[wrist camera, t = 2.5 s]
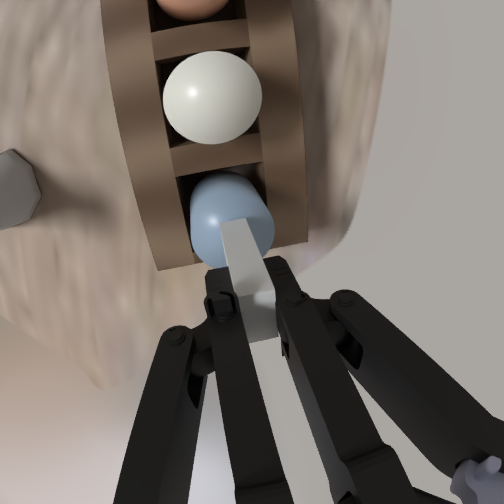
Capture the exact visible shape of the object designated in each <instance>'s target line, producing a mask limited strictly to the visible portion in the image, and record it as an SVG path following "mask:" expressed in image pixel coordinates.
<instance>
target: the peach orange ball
mask: <svg viewBox="0 0 504 504" xmlns="http://www.w3.org/2000/svg"><path fill="white" fill-rule="evenodd" d="M228 1H229V0H157V3H158V5H159V7H160V8H161V9H162V10H163V11H164V12H165V13H166V14H168V15H169V16H171V17H173V18H176V19H179V20H185V21H196V20H202V19H205V18H208V17H211V16H213V15H215V14H216V13H218V12H219V11H221V10H222V9H223V8H224V7H225V6H226V4H227V3H228Z"/></svg>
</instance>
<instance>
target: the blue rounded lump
mask: <svg viewBox="0 0 504 504" xmlns="http://www.w3.org/2000/svg"><path fill="white" fill-rule="evenodd" d="M242 218H246V220H247V223H248V225H249V228H250V230H251V233H252V235H253V237H254V240H255V242H256V245H257V247H258V249H259V252H260V254H261V257H262V258H263V257H264V255H265V254H266V253H267V252H268V250H269V249H270V247H271V245H272V243H273V239H274V235H275V226H274V221H273V218H272V216H271V214H270V212H269V210H268V209H267V207H266V206H265V204H264V202H263V201H262V199H261V197H260V196H259V194H258V192H257V191H256V189H255V187H254V186H253V184H252V183H251V182H250V181H249V180H248V179H247V178H246V177H244V176H243V175H241V174H239V173H236V172H232V171H219V172H215V173H212V174H210V175H208V176H206V177H205V178H203V179H202V180H201V181H200V182H199V183H198V184H197V185H196V187H195V188H194V190H193V192H192V195H191V199H190V223H191V242H192V246H193V249H194V251H195V253H196V254H197V255H198V257H199V258H200V259H201V260H202V261H203V262H205V263H206V264H208V265H209V266H211V267H213V268H216V269H217V268H222V267H227V263H226V258H225V252H224V247H223V242H222V236H221V230H220V225H219V223H220V222H226V221H231V220H236V219H242Z"/></svg>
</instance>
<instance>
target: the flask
mask: <svg viewBox="0 0 504 504" xmlns="http://www.w3.org/2000/svg"><path fill="white" fill-rule="evenodd" d="M40 198H41V193H40V190H39V187H38V185H37V182H36V179H35V176H34V173H33V170H32V166H31V165H30V164H28V163H27V162H26V161H25V160H23V159H22V158H21V157H20V156H18V155H17V154H16V153H15V152H14V151H12V150H11V149H9V150H7V151H5V152H3V153H1V154H0V230H4V229H7V228H10V227H13V226H15V225H18V224H20V223H23V222H26V221H28V220H30V218H31V216H32V214H33V212H34V210H35V208H36V206H37V204H38V202H39V200H40Z"/></svg>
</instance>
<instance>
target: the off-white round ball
mask: <svg viewBox="0 0 504 504" xmlns="http://www.w3.org/2000/svg"><path fill="white" fill-rule="evenodd" d="M261 103H262V90H261V85H260V82H259V79H258V77H257V75H256V73H255V72H254V70H253V69H252V68H251V67H250V66H249V64H247V63H246V62H245V61H244V60H242V59H241V58H239V57H237V56H235V55H233V54H230V53H227V52H221V51H207V52H202V53H198V54H196V55H193V56H191V57H189V58H187V59H186V60H184V61H183V62H181V63H180V64H179V65H178V66H177V67H176V68H175V69H174V70H173V72H172V73H171V75H170V76H169V78H168V80H167V82H166V85H165V88H164V93H163V106H164V110H165V114H166V116H167V119H168V120H169V122H170V124H171V125H172V126H173V128H174V129H175V130H176V131H177V132H178V133H179V134H181V135H182V136H184V137H185V138H187V139H189V140H191V141H194V142H197V143H202V144H220V143H224V142H228V141H230V140H233V139H235V138H237V137H238V136H240V135H241V134H243V133H244V132H245V131H246V130H247V129H248V128H249V127H250V126H251V125H252V124H253V122H254V121H255V119H256V117H257V116H258V113H259V111H260V107H261Z"/></svg>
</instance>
